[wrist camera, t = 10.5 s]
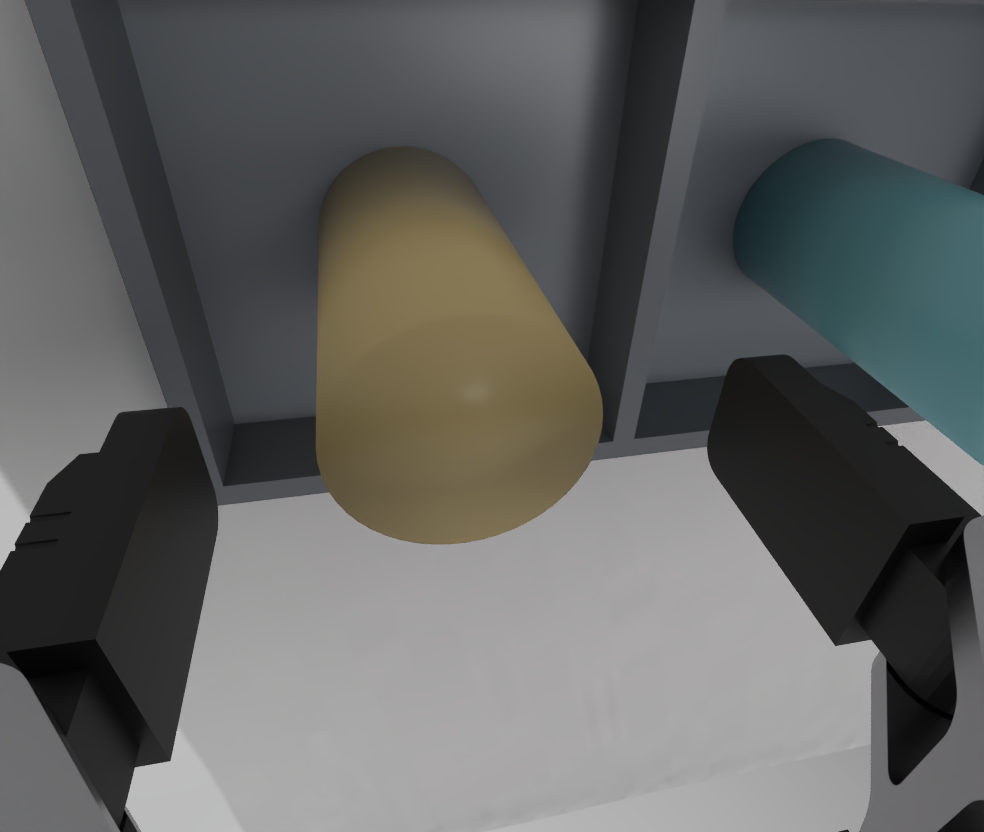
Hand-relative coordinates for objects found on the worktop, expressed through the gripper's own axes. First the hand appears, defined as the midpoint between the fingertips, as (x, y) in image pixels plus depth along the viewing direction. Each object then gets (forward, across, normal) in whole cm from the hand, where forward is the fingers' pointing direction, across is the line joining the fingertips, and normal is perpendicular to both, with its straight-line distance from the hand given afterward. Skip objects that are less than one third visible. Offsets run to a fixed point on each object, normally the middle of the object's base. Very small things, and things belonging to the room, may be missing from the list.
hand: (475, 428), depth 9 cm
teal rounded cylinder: (+7, -10, 0) cm, 13 cm away
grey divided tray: (+8, -5, 0) cm, 10 cm away
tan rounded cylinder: (+7, 0, 0) cm, 7 cm away
